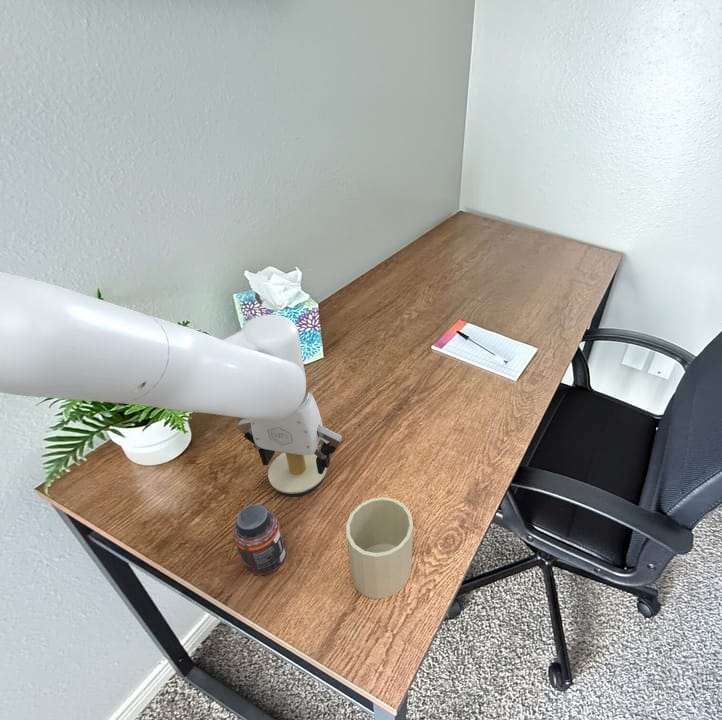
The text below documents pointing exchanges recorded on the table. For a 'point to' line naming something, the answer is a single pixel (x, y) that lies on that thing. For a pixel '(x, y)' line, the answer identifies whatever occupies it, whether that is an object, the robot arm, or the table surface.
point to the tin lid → (294, 473)
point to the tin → (380, 547)
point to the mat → (301, 492)
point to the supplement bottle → (259, 540)
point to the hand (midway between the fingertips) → (296, 463)
